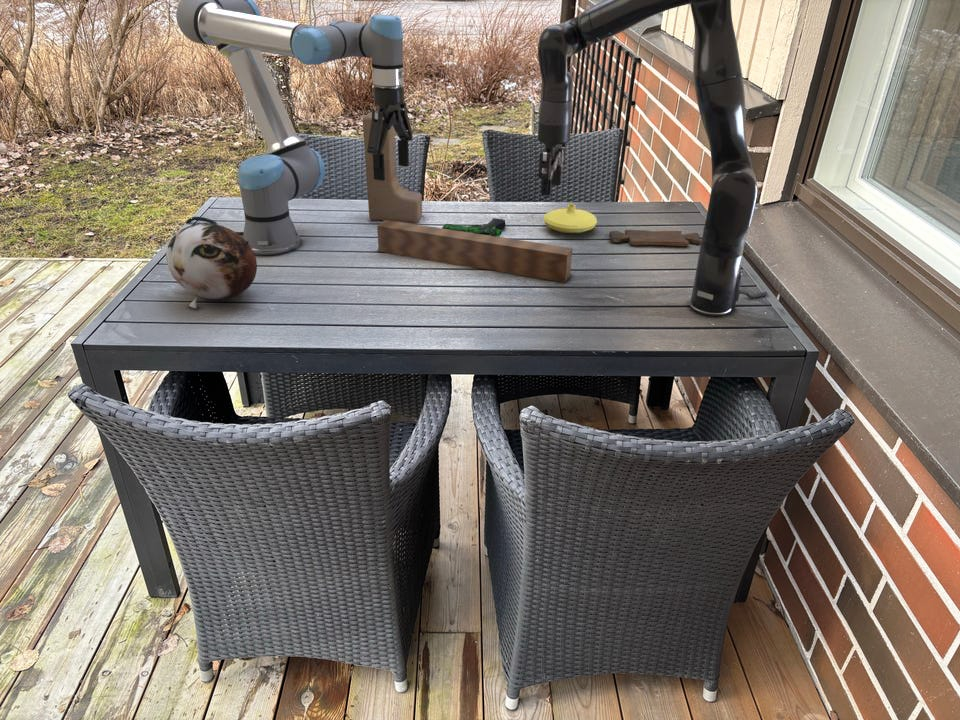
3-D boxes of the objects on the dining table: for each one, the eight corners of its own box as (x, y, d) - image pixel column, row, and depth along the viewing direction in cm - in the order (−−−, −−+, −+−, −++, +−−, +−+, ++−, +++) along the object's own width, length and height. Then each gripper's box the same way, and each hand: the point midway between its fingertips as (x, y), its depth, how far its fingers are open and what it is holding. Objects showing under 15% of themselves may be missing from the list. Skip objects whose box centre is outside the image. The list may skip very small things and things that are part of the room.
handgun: (511, 219, 210) (493, 234, 198) (511, 228, 211) (492, 244, 199) (461, 212, 215) (440, 226, 203) (461, 221, 217) (440, 236, 204)
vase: (559, 216, 220) (561, 193, 217) (605, 227, 212) (608, 204, 209) (532, 230, 209) (533, 207, 206) (580, 242, 201) (582, 218, 198)
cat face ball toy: (130, 285, 161) (164, 203, 163) (192, 308, 177) (221, 233, 178) (195, 307, 151) (229, 220, 152) (254, 330, 166) (285, 250, 168)
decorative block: (417, 223, 213) (414, 119, 198) (368, 220, 215) (361, 117, 199) (422, 214, 220) (419, 113, 204) (375, 212, 221) (368, 111, 206)
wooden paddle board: (704, 248, 200) (696, 236, 208) (705, 243, 199) (697, 230, 207) (612, 245, 200) (607, 232, 208) (612, 239, 199) (608, 227, 208)
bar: (378, 251, 194) (376, 225, 191) (387, 245, 198) (385, 219, 195) (565, 282, 178) (567, 255, 175) (570, 274, 182) (572, 247, 179)
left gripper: (377, 96, 162) (382, 187, 173) (424, 79, 182) (425, 162, 193) (348, 93, 165) (354, 183, 176) (398, 76, 185) (400, 158, 196)
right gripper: (562, 128, 156) (557, 200, 164) (578, 115, 167) (573, 183, 176) (529, 125, 158) (526, 196, 167) (548, 112, 170) (544, 180, 178)
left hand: (392, 172), depth 185 cm, fingers open, 13 cm apart
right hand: (551, 189), depth 171 cm, fingers open, 8 cm apart
